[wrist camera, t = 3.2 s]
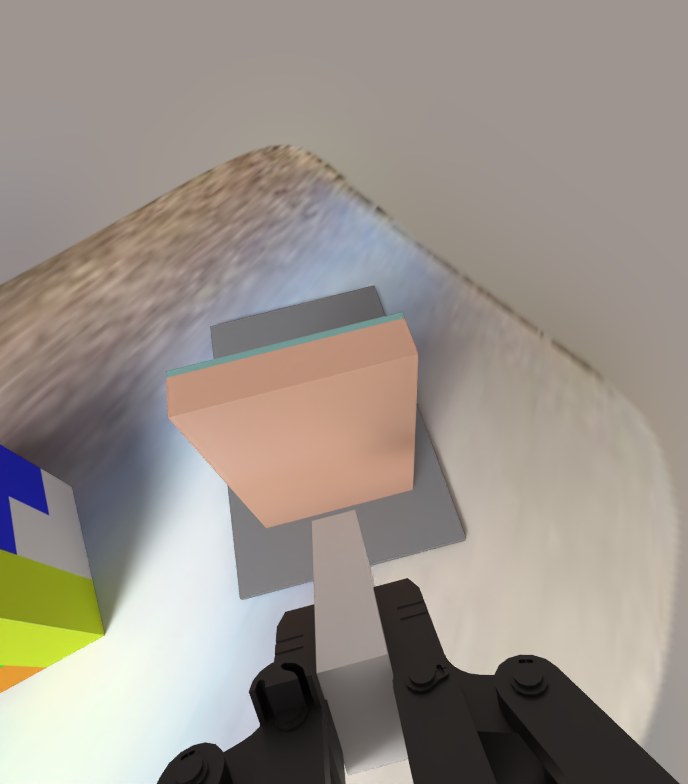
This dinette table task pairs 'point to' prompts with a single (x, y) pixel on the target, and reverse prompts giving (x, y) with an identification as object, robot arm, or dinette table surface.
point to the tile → (306, 418)
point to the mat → (376, 518)
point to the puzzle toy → (41, 573)
